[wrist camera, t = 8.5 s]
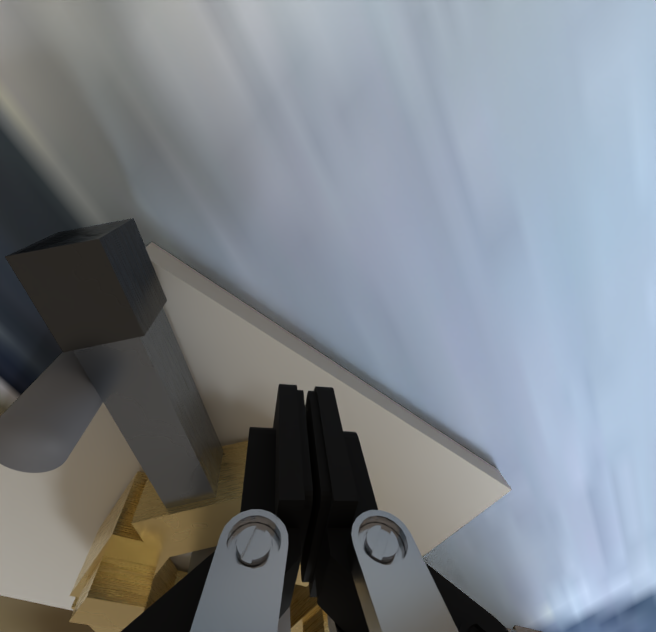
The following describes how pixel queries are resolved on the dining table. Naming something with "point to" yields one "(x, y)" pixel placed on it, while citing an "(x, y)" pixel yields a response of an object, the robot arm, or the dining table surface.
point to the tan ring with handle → (140, 422)
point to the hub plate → (230, 426)
